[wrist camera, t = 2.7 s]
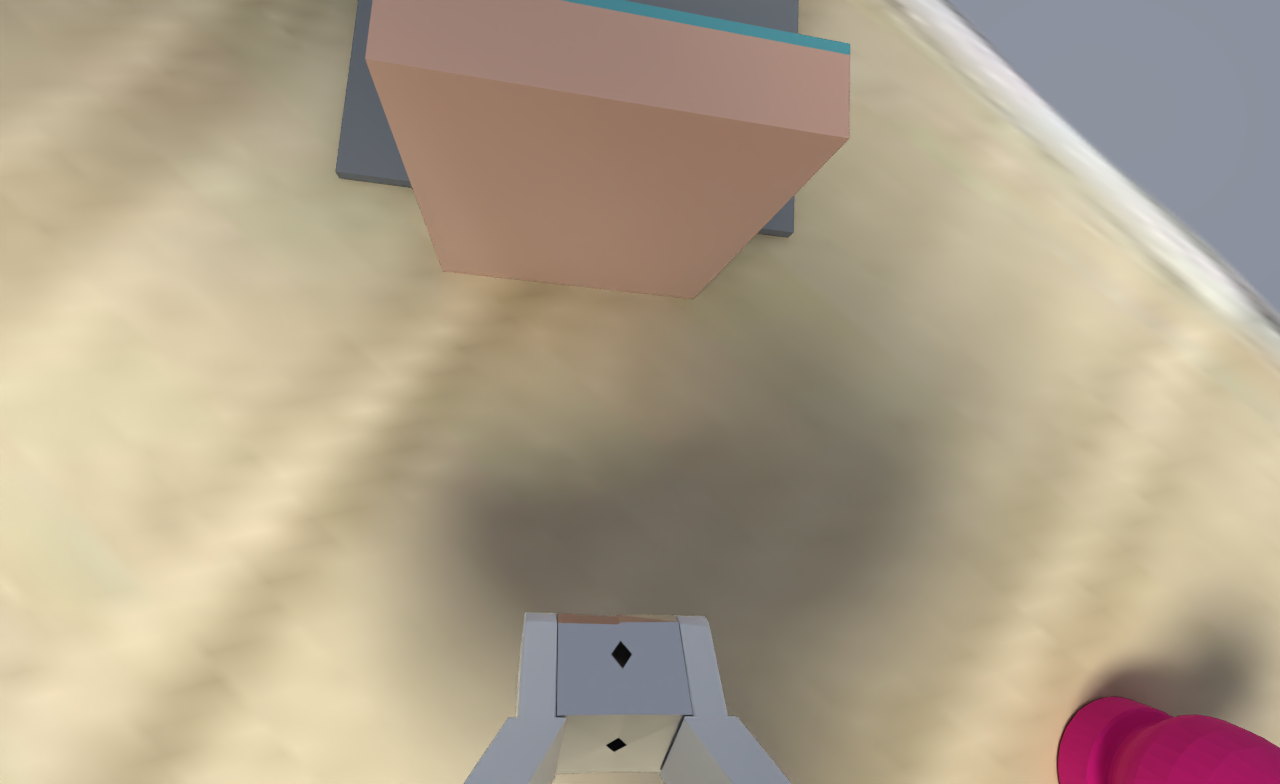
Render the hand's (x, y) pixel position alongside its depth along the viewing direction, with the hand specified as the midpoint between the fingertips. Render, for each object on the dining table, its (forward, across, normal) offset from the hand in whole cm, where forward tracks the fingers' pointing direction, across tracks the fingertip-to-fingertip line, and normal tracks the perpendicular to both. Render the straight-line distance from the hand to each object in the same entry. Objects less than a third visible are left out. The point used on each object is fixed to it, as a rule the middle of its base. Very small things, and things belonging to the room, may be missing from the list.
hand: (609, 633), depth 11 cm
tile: (+20, 0, +3) cm, 20 cm away
